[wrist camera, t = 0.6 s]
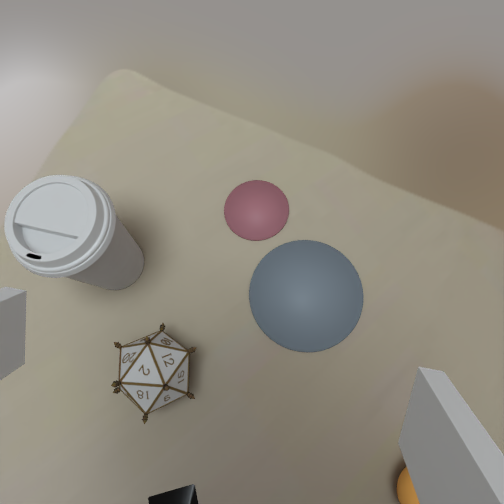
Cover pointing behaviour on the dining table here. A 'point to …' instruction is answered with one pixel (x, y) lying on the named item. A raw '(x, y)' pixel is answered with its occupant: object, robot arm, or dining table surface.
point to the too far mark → (256, 210)
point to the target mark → (306, 296)
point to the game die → (153, 371)
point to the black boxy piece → (176, 496)
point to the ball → (406, 489)
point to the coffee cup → (72, 233)
